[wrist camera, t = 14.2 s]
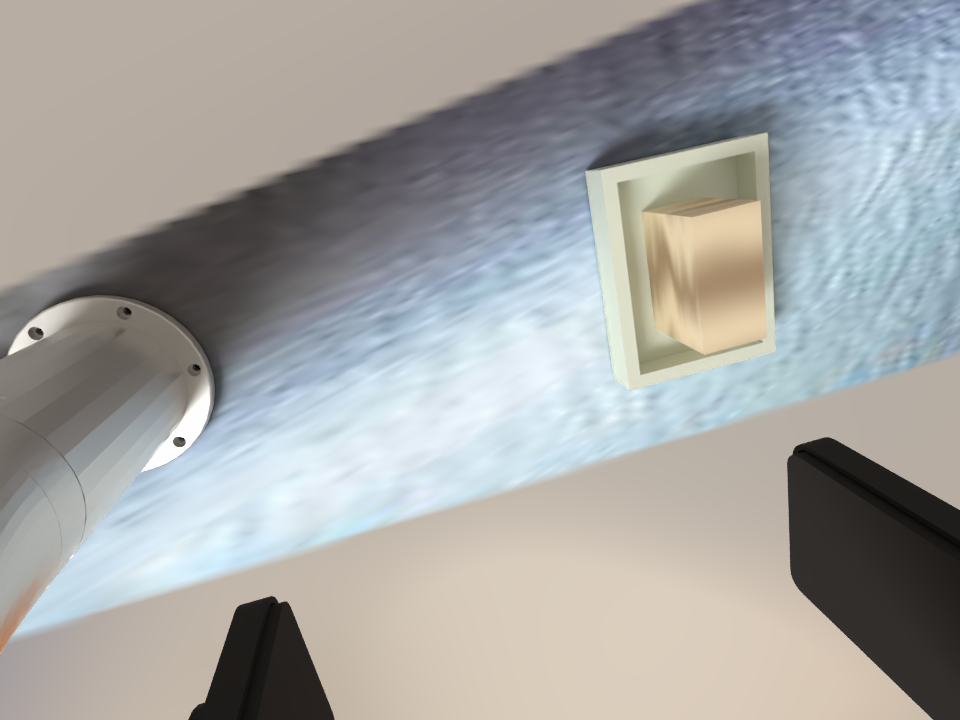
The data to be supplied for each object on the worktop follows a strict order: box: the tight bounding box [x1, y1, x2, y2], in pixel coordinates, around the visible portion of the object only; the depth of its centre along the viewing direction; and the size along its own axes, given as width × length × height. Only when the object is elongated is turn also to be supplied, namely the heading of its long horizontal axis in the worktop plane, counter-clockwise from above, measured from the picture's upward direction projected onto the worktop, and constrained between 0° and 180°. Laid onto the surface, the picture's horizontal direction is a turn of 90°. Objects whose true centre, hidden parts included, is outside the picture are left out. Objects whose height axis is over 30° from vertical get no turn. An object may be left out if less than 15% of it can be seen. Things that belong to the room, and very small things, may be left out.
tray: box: [585, 133, 776, 391], centre depth 42 cm, size 12×16×3 cm
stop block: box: [642, 197, 767, 355], centre depth 39 cm, size 9×4×7 cm, turn 13°
